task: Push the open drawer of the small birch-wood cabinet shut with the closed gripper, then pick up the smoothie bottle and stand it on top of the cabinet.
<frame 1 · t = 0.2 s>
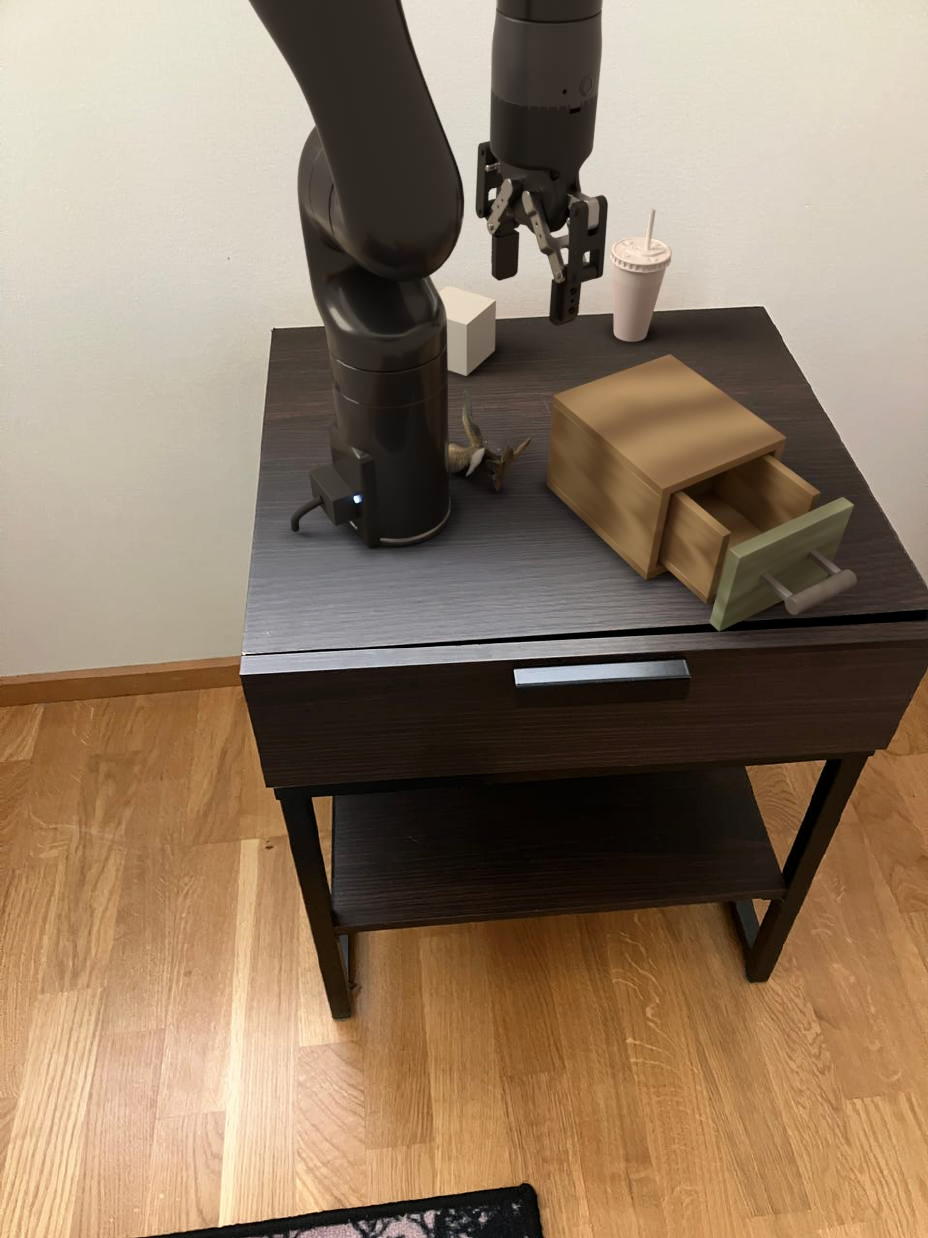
hand: (532, 298, 79), 17 cm above the table, tool pointing down, fingers open, 8 cm apart
cabinet: (650, 506, 87), on the table
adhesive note: (457, 356, 105), on the table
smoothie: (629, 334, 108), on the table
drawer: (744, 534, 77), point 5 cm above the table, slide at 7.0 cm
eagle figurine: (472, 470, 91), on the table
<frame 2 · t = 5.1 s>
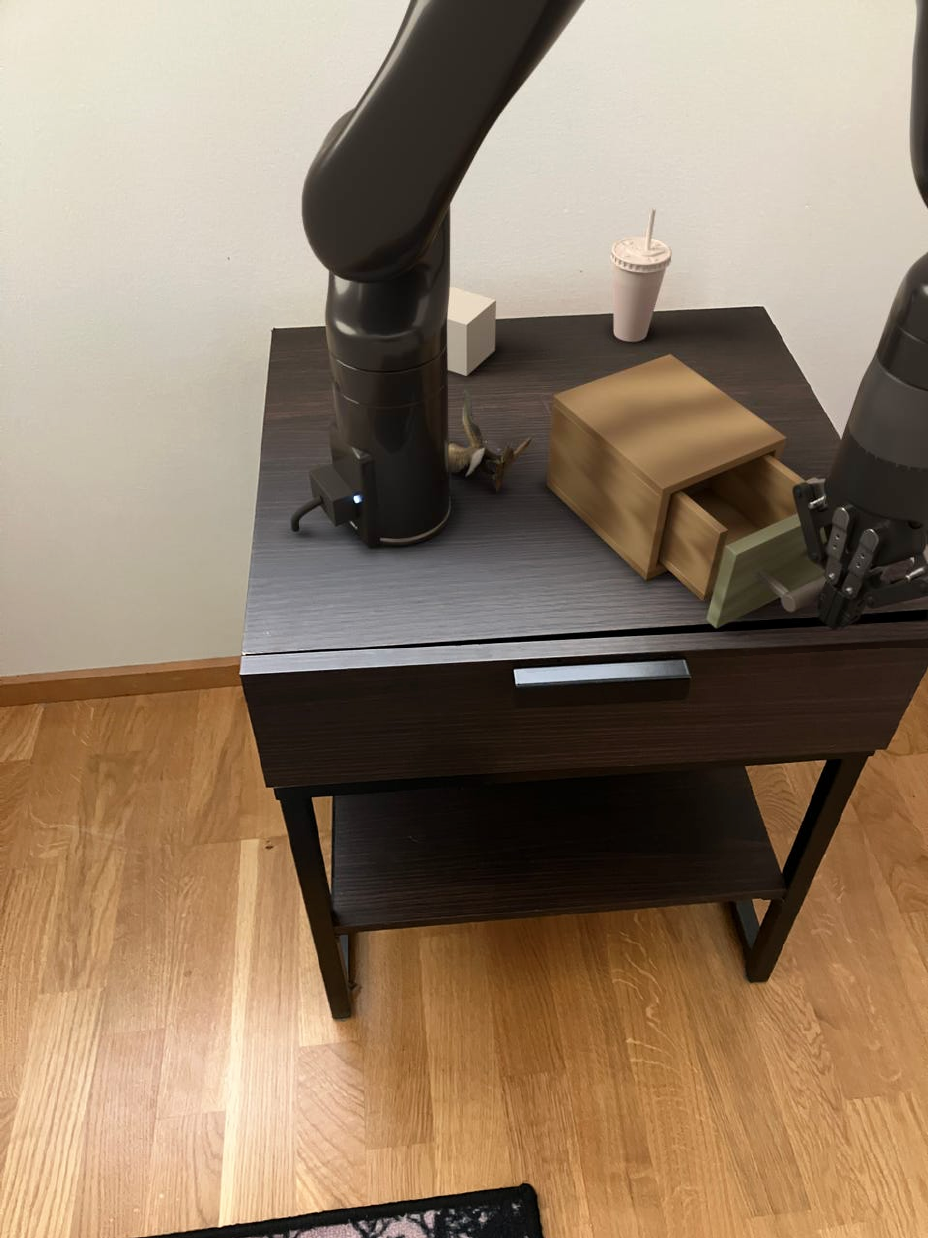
hand: (834, 620, 72), 4 cm above the table, tool pointing down, fingers closed
drawer: (741, 531, 77), point 5 cm above the table, slide at 6.6 cm, touching gripper
everything else where it was.
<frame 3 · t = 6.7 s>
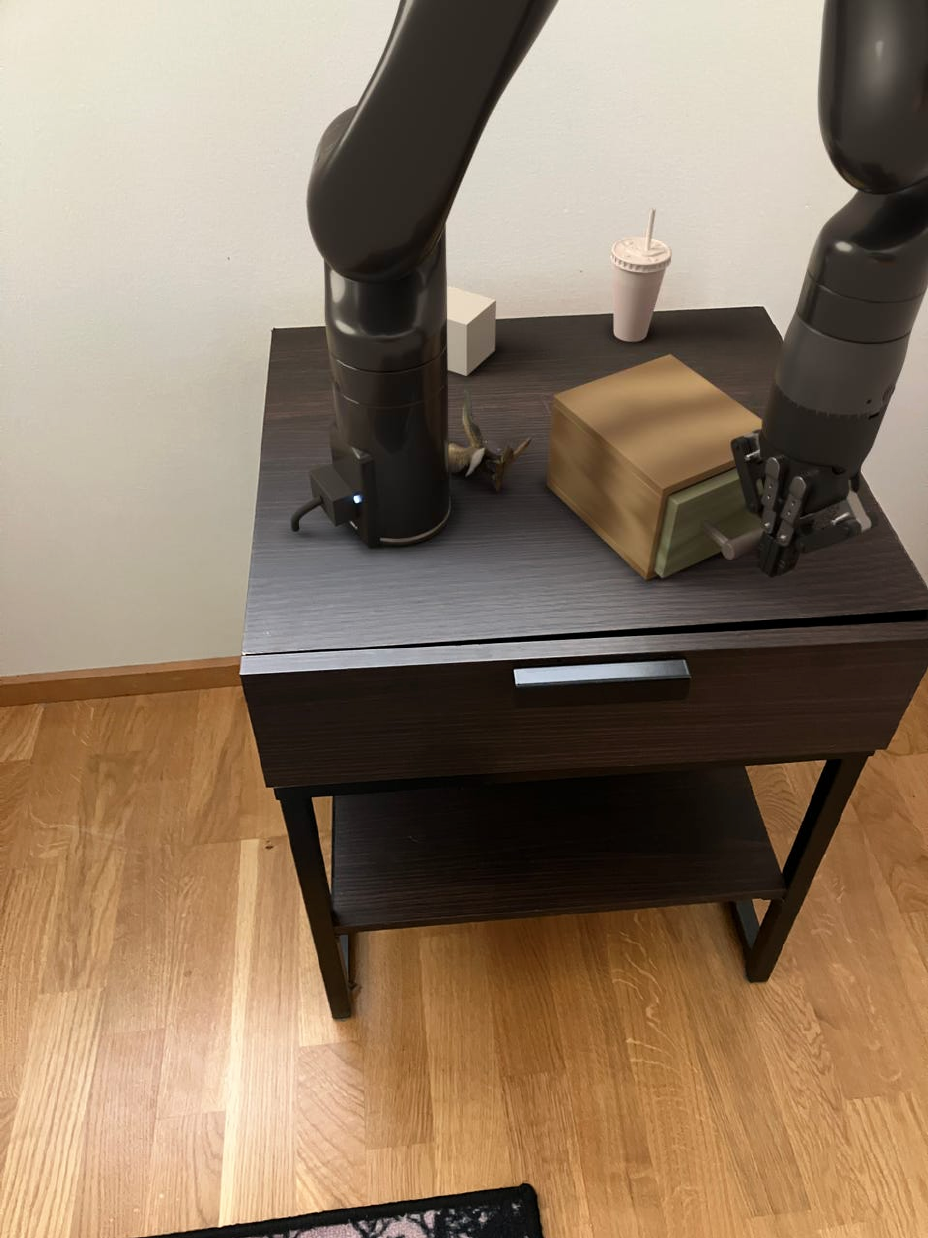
hand: (772, 569, 76), 4 cm above the table, tool pointing down, fingers closed
drawer: (687, 487, 81), point 5 cm above the table, slide at 0.0 cm, touching gripper
everything else where it was.
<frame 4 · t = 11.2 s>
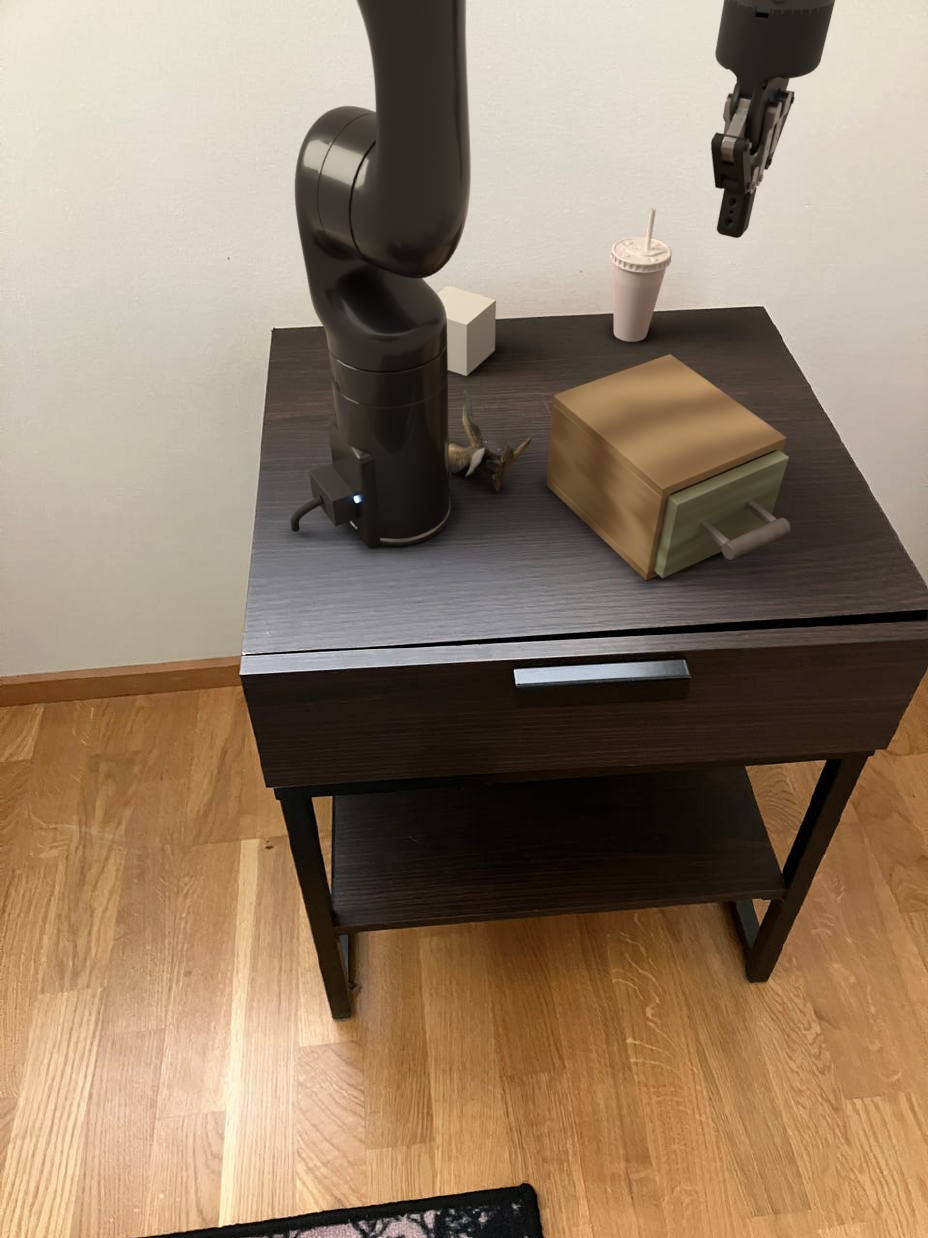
hand: (731, 232, 79), 21 cm above the table, tool pointing down, fingers closed
drawer: (687, 487, 81), point 5 cm above the table, slide at 0.0 cm
everything else where it was.
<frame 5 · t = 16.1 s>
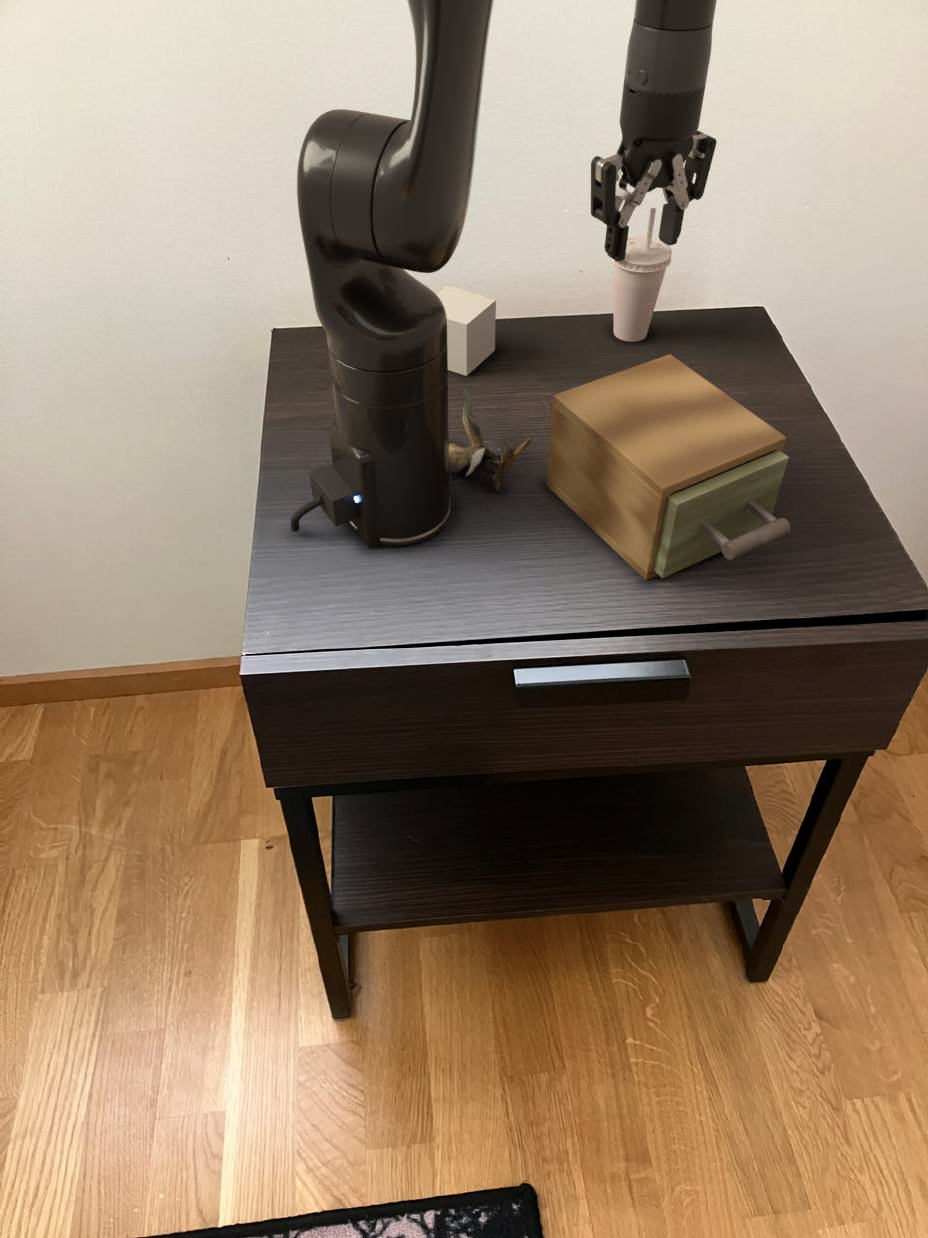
hand: (641, 249, 101), 10 cm above the table, tool pointing down, fingers closed on smoothie, 6 cm apart
smoothie: (629, 334, 108), on the table, touching gripper
everything else where it was.
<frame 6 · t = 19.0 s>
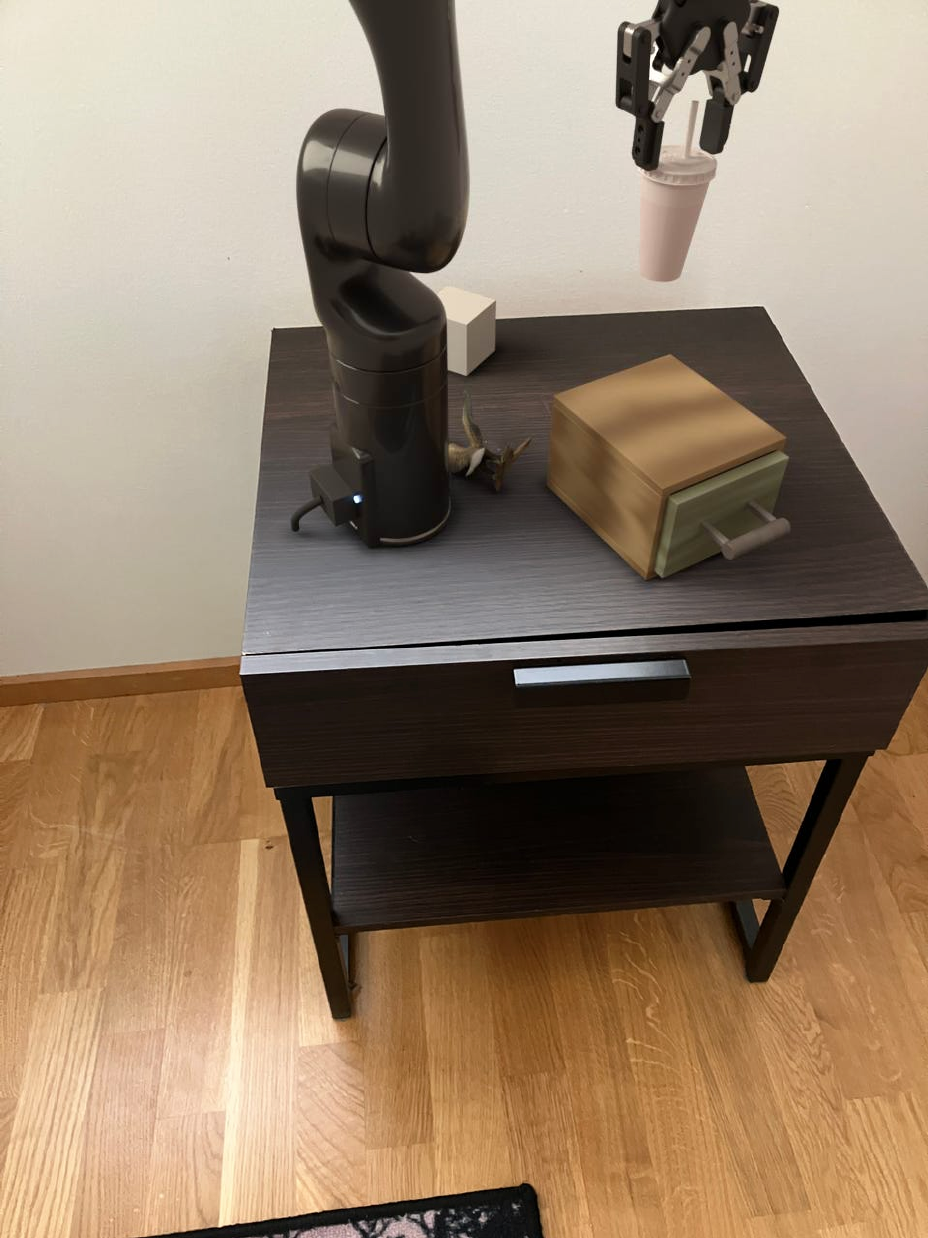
hand: (678, 158, 78), 25 cm above the table, tool pointing down, fingers closed on smoothie, 6 cm apart
smoothie: (659, 274, 85), point 15 cm above the table, touching gripper
everything else where it was.
when the fingers open (19 cm above the table, at t = 22.4 s): smoothie stays where it is, resting on cabinet.
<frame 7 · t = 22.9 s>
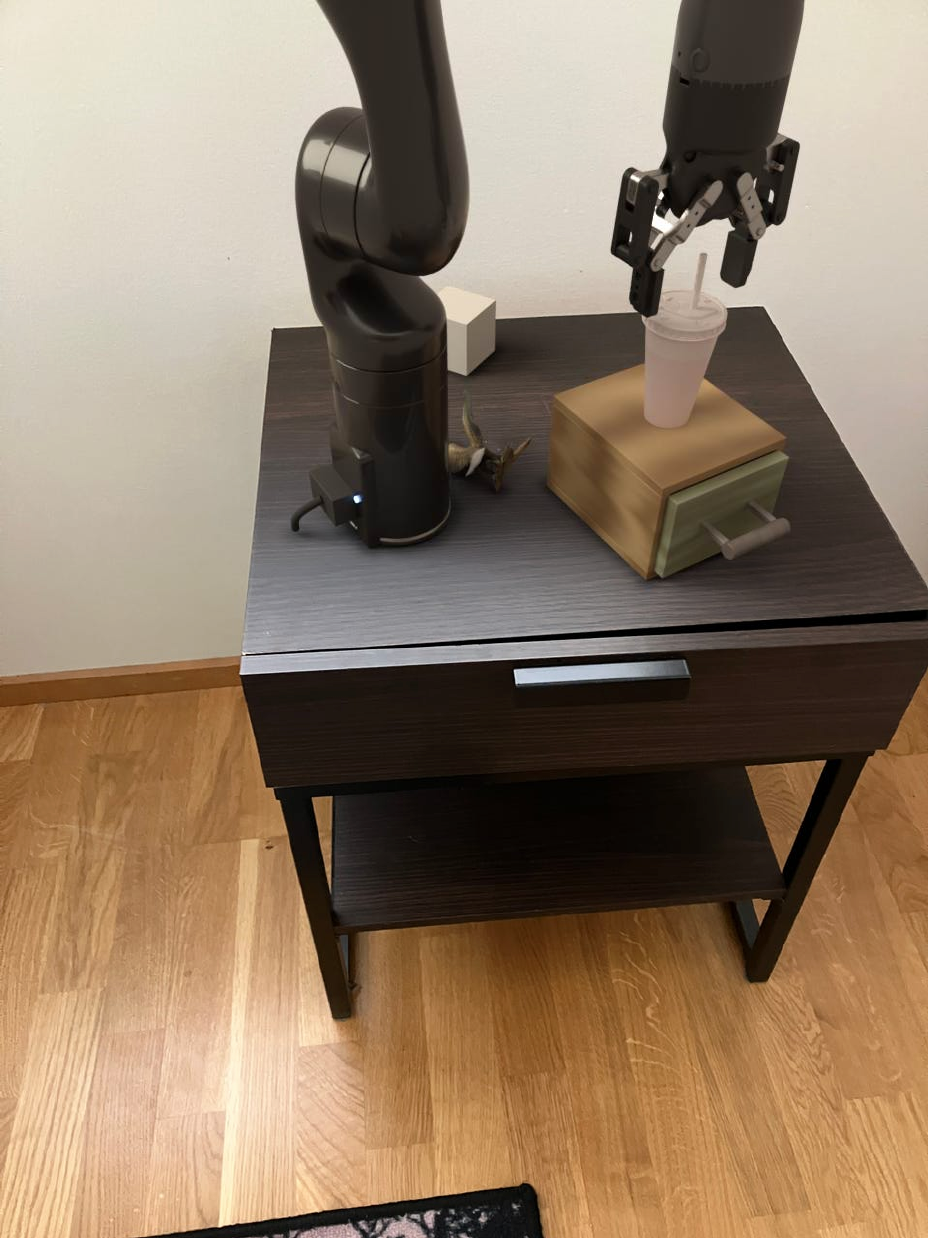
hand: (688, 297, 72), 20 cm above the table, tool pointing down, fingers open, 8 cm apart
smoothie: (665, 417, 80), point 10 cm above the table, touching cabinet
everything else where it was.
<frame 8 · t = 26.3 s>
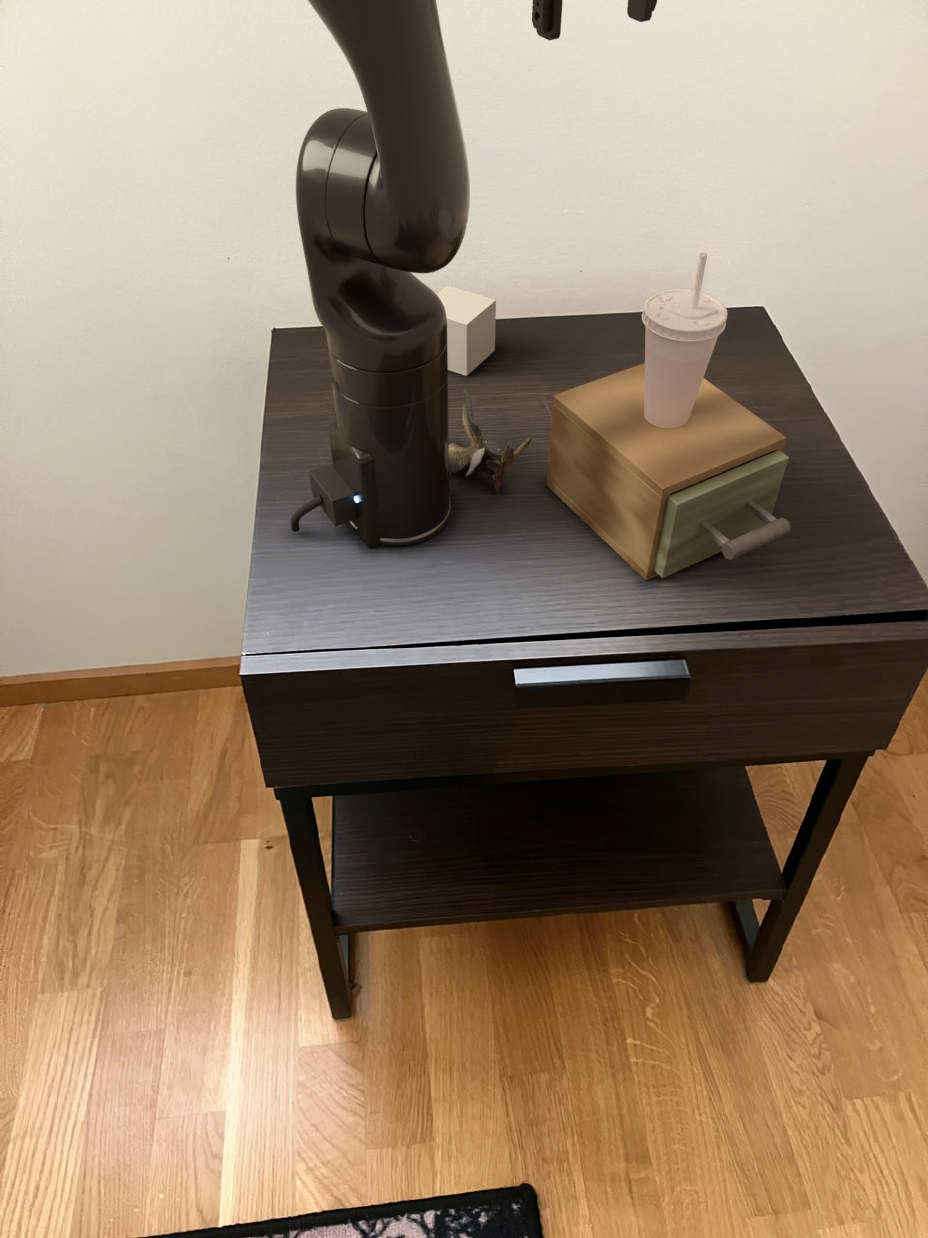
hand: (593, 27, 73), 34 cm above the table, tool pointing down, fingers open, 8 cm apart
nothing on the table moved.
at the end: drawer slide at 0.0 cm; smoothie inside the target area on the cabinet (0.1 cm from its centre), point 9.6 cm above the cabinet's base; smoothie tilted 0° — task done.
